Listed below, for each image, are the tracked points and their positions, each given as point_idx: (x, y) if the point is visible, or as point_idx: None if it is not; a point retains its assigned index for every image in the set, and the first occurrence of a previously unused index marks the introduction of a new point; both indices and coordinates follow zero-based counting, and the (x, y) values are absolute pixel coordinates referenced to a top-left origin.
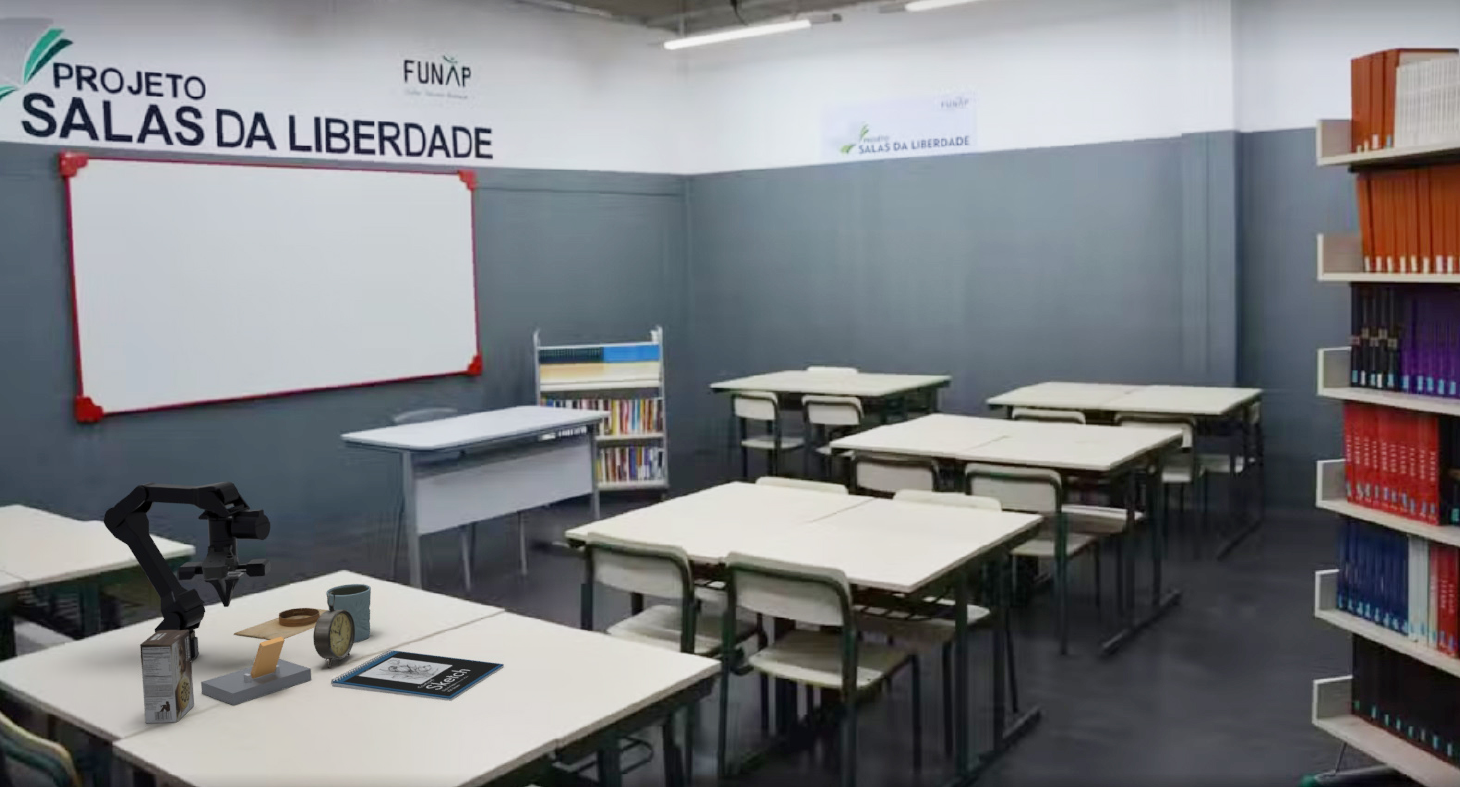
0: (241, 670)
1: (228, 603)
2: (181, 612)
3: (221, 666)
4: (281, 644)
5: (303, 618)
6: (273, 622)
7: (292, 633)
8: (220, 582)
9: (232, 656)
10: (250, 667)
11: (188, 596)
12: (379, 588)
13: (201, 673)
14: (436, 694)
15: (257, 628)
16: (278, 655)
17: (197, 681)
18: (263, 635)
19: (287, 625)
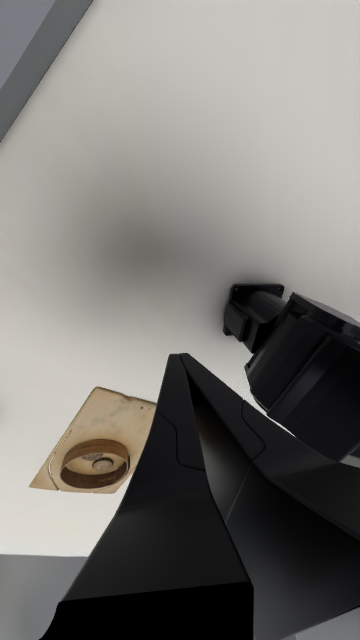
0: (26, 19)
1: (167, 364)
2: (338, 332)
3: (163, 250)
4: None
5: (75, 457)
6: (138, 450)
7: (83, 417)
8: (282, 519)
9: (157, 314)
10: (4, 61)
11: (347, 413)
12: (42, 546)
13: (198, 203)
14: None
15: None
16: None
17: (195, 122)
18: (132, 406)
19: (106, 441)
